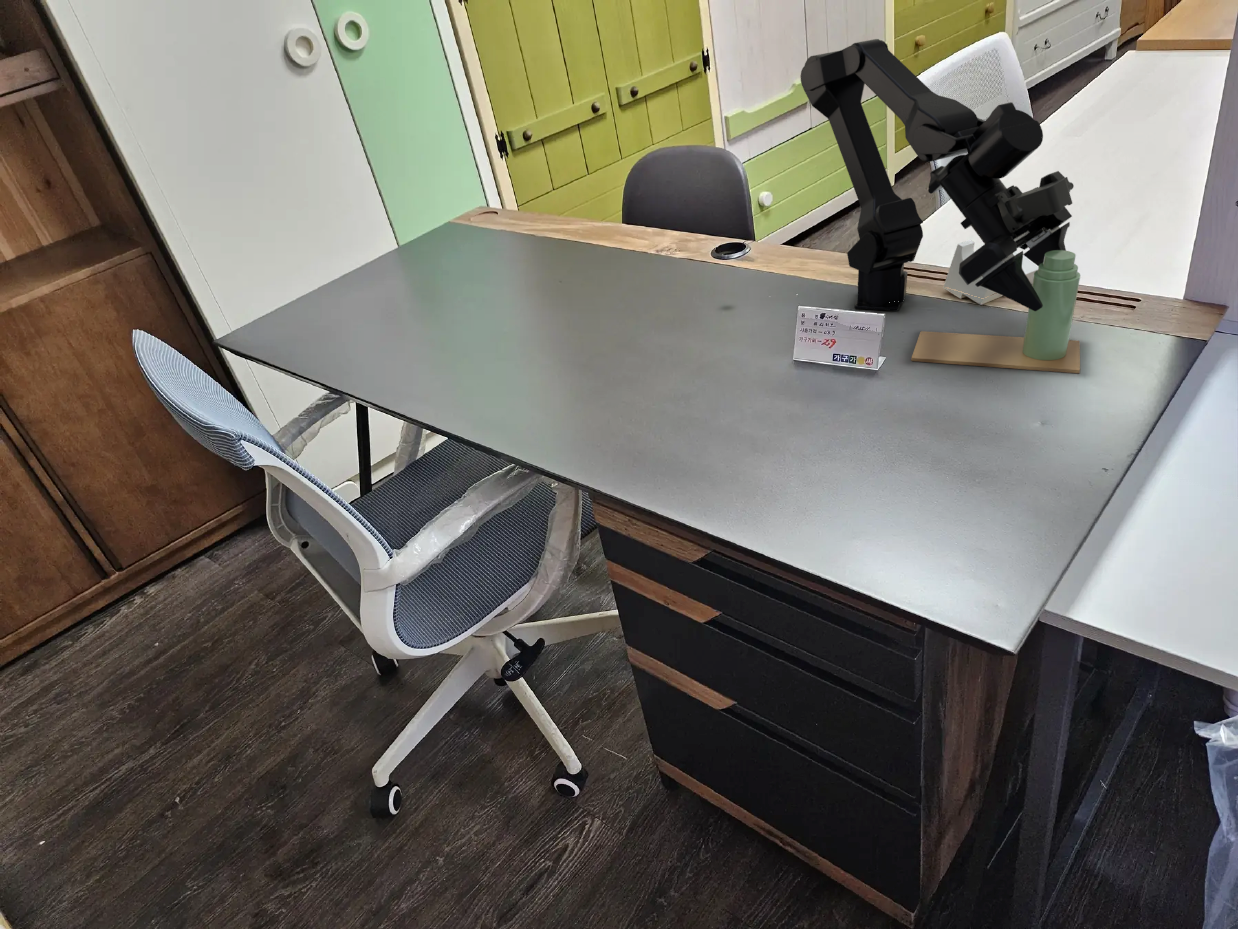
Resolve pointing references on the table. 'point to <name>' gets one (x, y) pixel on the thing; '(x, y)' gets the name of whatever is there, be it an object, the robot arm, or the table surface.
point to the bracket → (959, 284)
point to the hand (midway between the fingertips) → (1056, 296)
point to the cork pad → (989, 352)
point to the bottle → (1052, 307)
